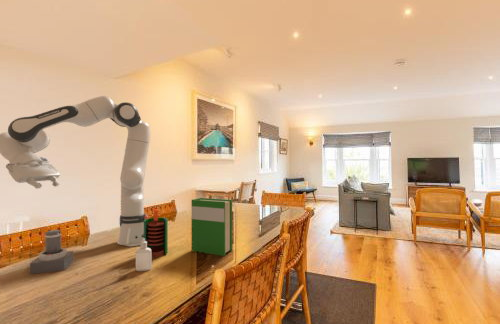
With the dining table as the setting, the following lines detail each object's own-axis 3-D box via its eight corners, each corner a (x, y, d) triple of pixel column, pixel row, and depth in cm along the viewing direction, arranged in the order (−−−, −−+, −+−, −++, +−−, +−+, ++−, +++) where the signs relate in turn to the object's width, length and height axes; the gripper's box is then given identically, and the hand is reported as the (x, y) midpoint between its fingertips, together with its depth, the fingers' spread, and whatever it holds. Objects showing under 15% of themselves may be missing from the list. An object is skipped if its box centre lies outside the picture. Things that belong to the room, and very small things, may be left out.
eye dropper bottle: (145, 272, 100) (145, 240, 100) (133, 270, 102) (133, 239, 102) (153, 268, 104) (153, 237, 104) (142, 266, 106) (142, 236, 106)
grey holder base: (73, 260, 113) (73, 245, 113) (64, 270, 102) (64, 253, 102) (42, 263, 109) (42, 248, 109) (29, 274, 99) (29, 257, 99)
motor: (144, 259, 114) (144, 212, 114) (142, 252, 122) (142, 209, 122) (169, 255, 119) (168, 210, 119) (165, 249, 126) (165, 207, 126)
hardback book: (232, 250, 124) (232, 199, 124) (224, 256, 117) (224, 201, 117) (200, 246, 131) (200, 197, 131) (191, 250, 124) (191, 199, 124)
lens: (63, 253, 109) (62, 228, 109) (58, 258, 104) (58, 232, 104) (48, 255, 107) (48, 230, 107) (42, 259, 102) (42, 233, 103)
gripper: (8, 158, 104) (32, 183, 103) (50, 158, 124) (70, 179, 124) (-3, 169, 104) (21, 194, 104) (41, 168, 124) (61, 189, 124)
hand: (48, 186), depth 114 cm, fingers open, 8 cm apart
